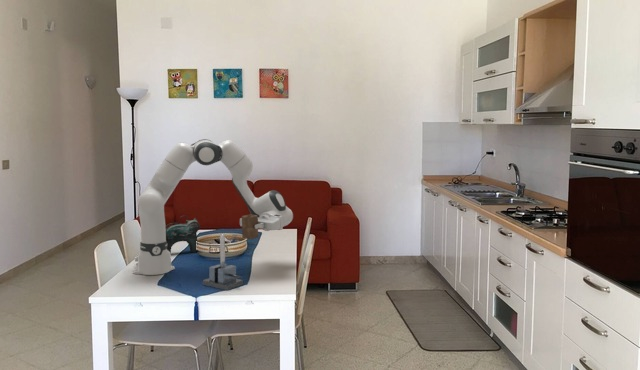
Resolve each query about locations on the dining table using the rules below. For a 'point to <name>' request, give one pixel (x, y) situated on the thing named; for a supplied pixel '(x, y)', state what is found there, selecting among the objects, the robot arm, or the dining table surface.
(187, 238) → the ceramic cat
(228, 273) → the vise
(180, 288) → the dining table surface
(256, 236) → the walnut sleeve
